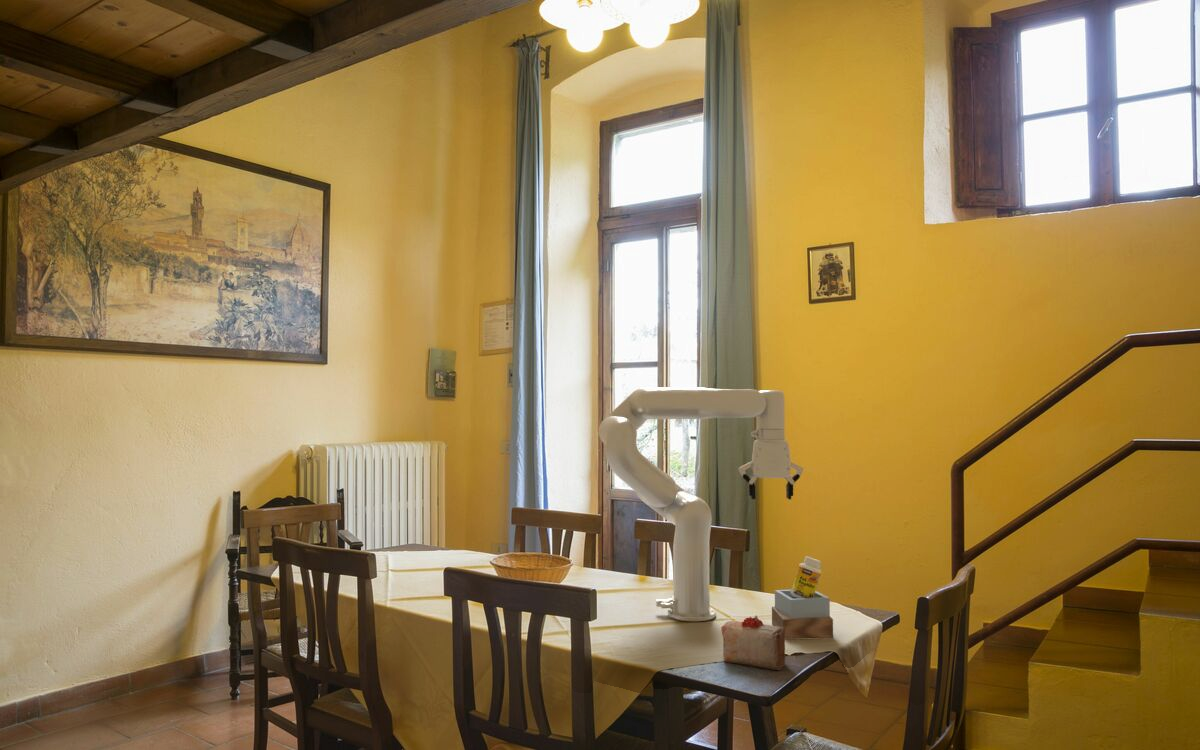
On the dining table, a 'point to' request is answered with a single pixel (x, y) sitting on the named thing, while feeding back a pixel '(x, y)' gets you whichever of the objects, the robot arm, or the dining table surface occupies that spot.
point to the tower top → (802, 605)
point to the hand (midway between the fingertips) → (770, 498)
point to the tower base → (803, 626)
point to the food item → (754, 644)
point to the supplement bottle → (806, 578)
